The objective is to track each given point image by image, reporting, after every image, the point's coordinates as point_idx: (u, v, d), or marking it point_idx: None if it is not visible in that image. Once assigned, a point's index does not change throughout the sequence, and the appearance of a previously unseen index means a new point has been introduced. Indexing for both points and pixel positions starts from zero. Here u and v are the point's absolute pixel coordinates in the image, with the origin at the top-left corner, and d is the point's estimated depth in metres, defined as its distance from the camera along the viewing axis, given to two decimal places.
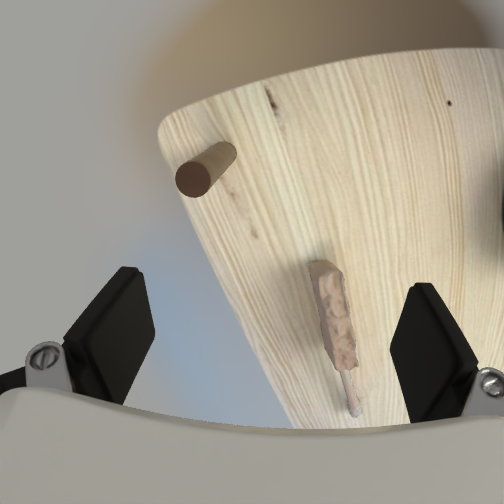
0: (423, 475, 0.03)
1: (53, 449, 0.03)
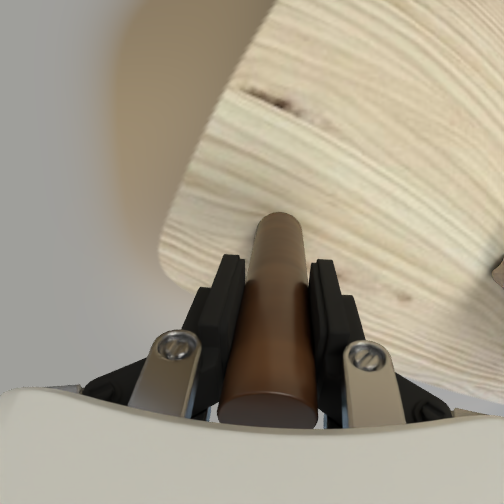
0: (423, 475, 0.03)
1: (53, 449, 0.03)
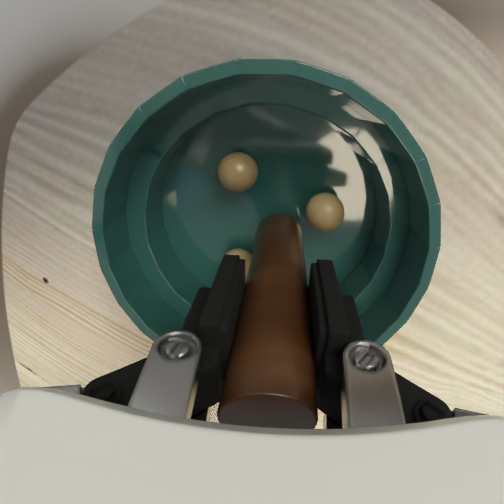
0: (423, 475, 0.03)
1: (53, 449, 0.03)
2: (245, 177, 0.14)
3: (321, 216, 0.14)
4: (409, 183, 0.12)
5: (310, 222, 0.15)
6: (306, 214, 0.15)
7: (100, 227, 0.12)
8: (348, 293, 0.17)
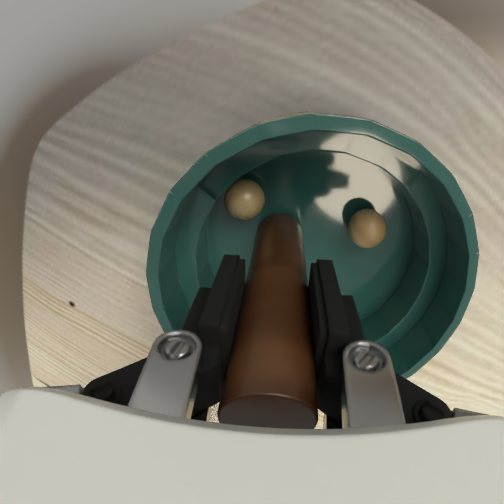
0: (423, 475, 0.03)
1: (53, 449, 0.03)
2: None
3: (375, 215, 0.14)
4: (451, 231, 0.12)
5: (360, 218, 0.14)
6: (356, 214, 0.15)
7: (155, 271, 0.13)
8: (384, 323, 0.17)
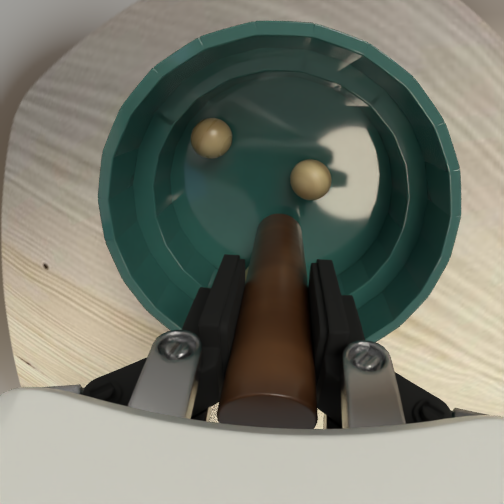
0: (423, 475, 0.03)
1: (53, 449, 0.03)
2: (192, 132, 0.14)
3: (298, 181, 0.14)
4: (427, 152, 0.11)
5: (291, 173, 0.14)
6: (296, 165, 0.14)
7: (106, 195, 0.12)
8: (365, 271, 0.16)
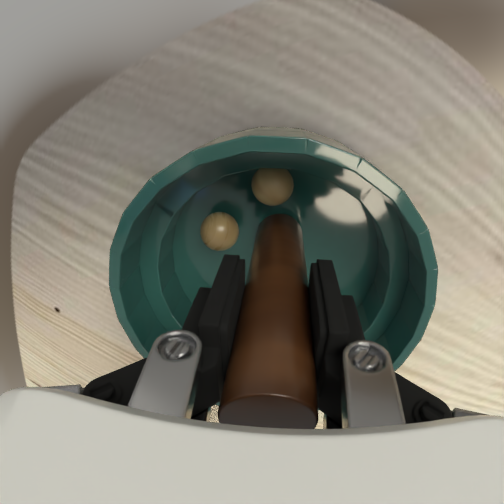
0: (423, 475, 0.03)
1: (53, 449, 0.03)
2: (203, 235, 0.15)
3: None
4: (410, 245, 0.13)
5: (254, 191, 0.14)
6: (261, 196, 0.14)
7: (117, 285, 0.13)
8: None
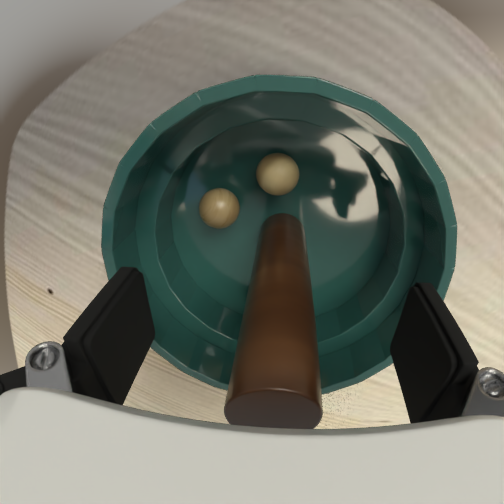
0: (423, 475, 0.03)
1: (53, 449, 0.03)
2: (202, 212, 0.14)
3: None
4: (426, 203, 0.12)
5: None
6: None
7: (109, 247, 0.12)
8: (360, 309, 0.16)
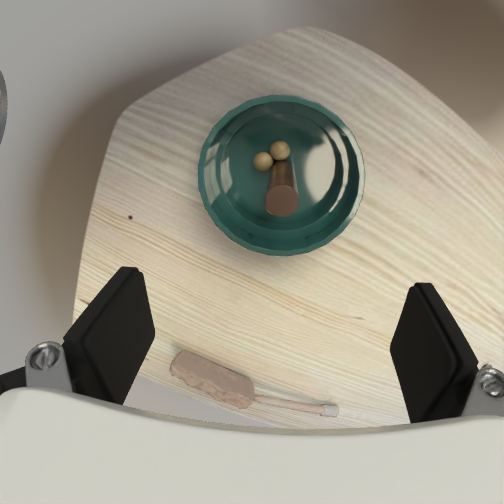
0: (423, 475, 0.03)
1: (53, 449, 0.03)
2: (265, 168, 0.30)
3: (273, 143, 0.29)
4: (349, 147, 0.26)
5: None
6: None
7: (202, 165, 0.27)
8: (325, 209, 0.31)
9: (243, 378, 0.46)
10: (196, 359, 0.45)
